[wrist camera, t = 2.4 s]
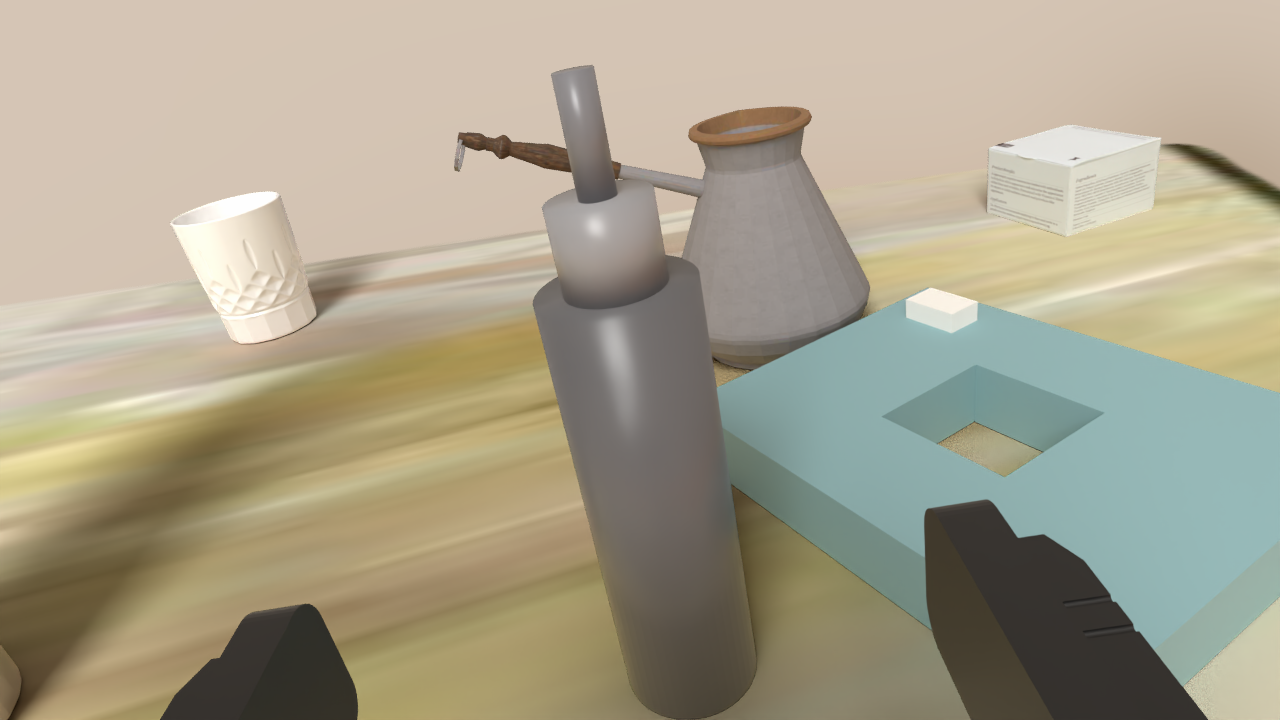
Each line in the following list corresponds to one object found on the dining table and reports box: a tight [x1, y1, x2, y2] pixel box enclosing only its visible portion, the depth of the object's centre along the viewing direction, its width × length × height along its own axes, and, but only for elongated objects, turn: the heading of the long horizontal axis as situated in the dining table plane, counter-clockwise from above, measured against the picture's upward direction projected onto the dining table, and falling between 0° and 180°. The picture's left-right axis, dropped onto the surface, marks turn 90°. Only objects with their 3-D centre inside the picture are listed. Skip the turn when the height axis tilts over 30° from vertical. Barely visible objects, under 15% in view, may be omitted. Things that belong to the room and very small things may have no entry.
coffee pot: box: [454, 107, 870, 369], centre depth 44 cm, size 21×12×15 cm, turn 93°
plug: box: [533, 65, 757, 720], centre depth 22 cm, size 4×4×19 cm
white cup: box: [170, 192, 317, 344], centre depth 62 cm, size 8×8×10 cm
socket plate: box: [717, 288, 1280, 687], centre depth 32 cm, size 20×16×4 cm
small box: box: [987, 125, 1161, 237], centre depth 56 cm, size 8×8×5 cm
